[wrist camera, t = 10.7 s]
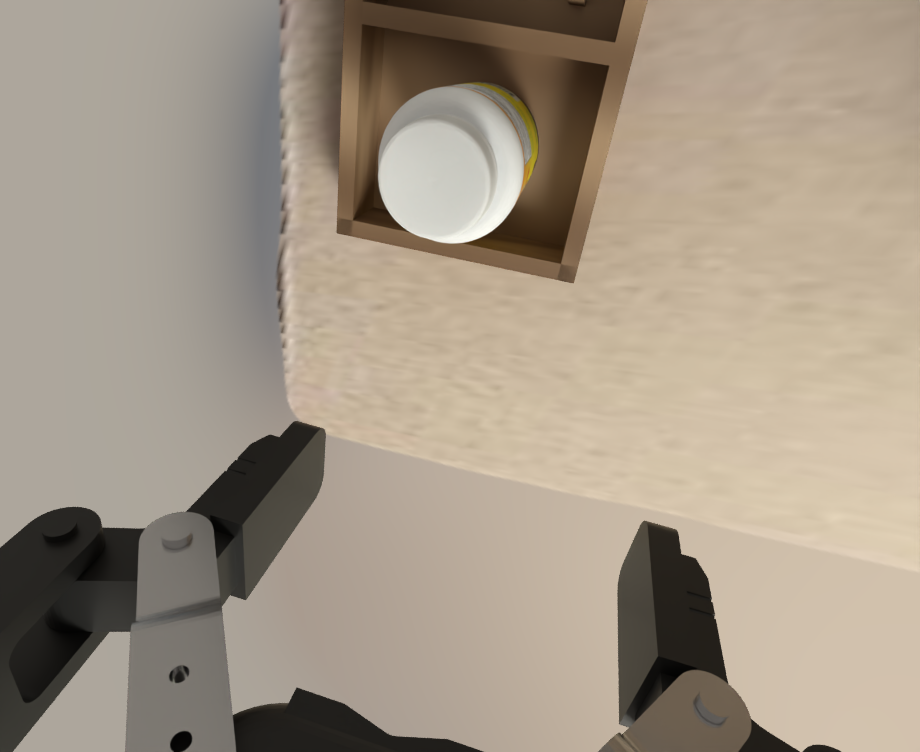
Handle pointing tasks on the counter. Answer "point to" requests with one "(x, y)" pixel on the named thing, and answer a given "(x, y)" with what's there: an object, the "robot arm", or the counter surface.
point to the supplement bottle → (457, 160)
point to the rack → (510, 65)
